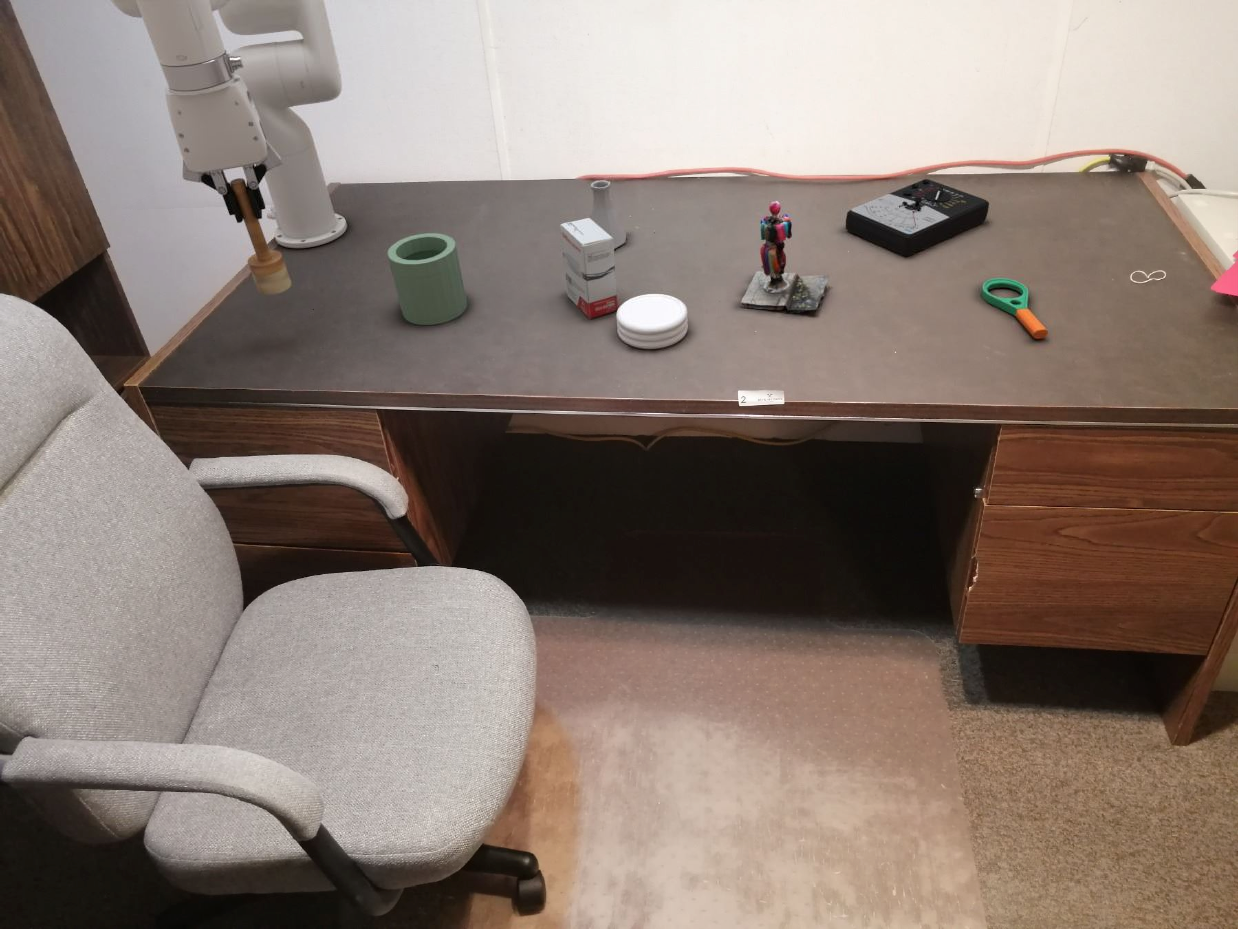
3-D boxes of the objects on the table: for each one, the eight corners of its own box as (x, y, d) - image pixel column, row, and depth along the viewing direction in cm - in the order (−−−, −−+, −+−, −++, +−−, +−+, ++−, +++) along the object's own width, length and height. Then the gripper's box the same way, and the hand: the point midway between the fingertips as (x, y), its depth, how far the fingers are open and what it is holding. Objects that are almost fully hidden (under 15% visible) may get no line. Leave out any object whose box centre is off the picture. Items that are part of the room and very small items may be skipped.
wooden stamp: (251, 291, 125) (211, 185, 115) (274, 276, 128) (237, 171, 118) (275, 297, 123) (236, 190, 113) (298, 282, 126) (262, 176, 116)
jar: (389, 318, 135) (373, 257, 128) (428, 288, 141) (415, 229, 135) (442, 330, 131) (428, 268, 124) (479, 299, 137) (468, 238, 131)
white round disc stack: (666, 357, 121) (665, 335, 119) (604, 340, 126) (602, 318, 123) (700, 322, 127) (700, 301, 125) (640, 307, 132) (639, 286, 130)
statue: (741, 314, 131) (730, 218, 122) (758, 283, 137) (748, 189, 128) (816, 316, 126) (810, 216, 117) (829, 283, 133) (824, 187, 124)
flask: (577, 248, 148) (570, 190, 142) (594, 230, 153) (588, 173, 147) (617, 253, 146) (612, 194, 140) (633, 234, 151) (629, 176, 145)
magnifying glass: (974, 287, 130) (976, 276, 129) (1015, 283, 130) (1017, 273, 129) (1016, 342, 118) (1019, 331, 117) (1061, 338, 118) (1064, 327, 117)
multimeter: (987, 221, 146) (993, 192, 142) (905, 258, 138) (910, 228, 135) (923, 197, 154) (927, 169, 151) (843, 231, 147) (846, 202, 143)
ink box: (619, 310, 132) (614, 236, 124) (589, 320, 130) (581, 245, 123) (595, 287, 138) (588, 214, 130) (566, 295, 136) (557, 223, 129)
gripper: (265, 54, 111) (309, 194, 123) (132, 74, 108) (189, 216, 120) (266, 71, 106) (311, 216, 118) (125, 93, 103) (186, 240, 115)
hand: (249, 215), depth 119 cm, fingers closed on wooden stamp
